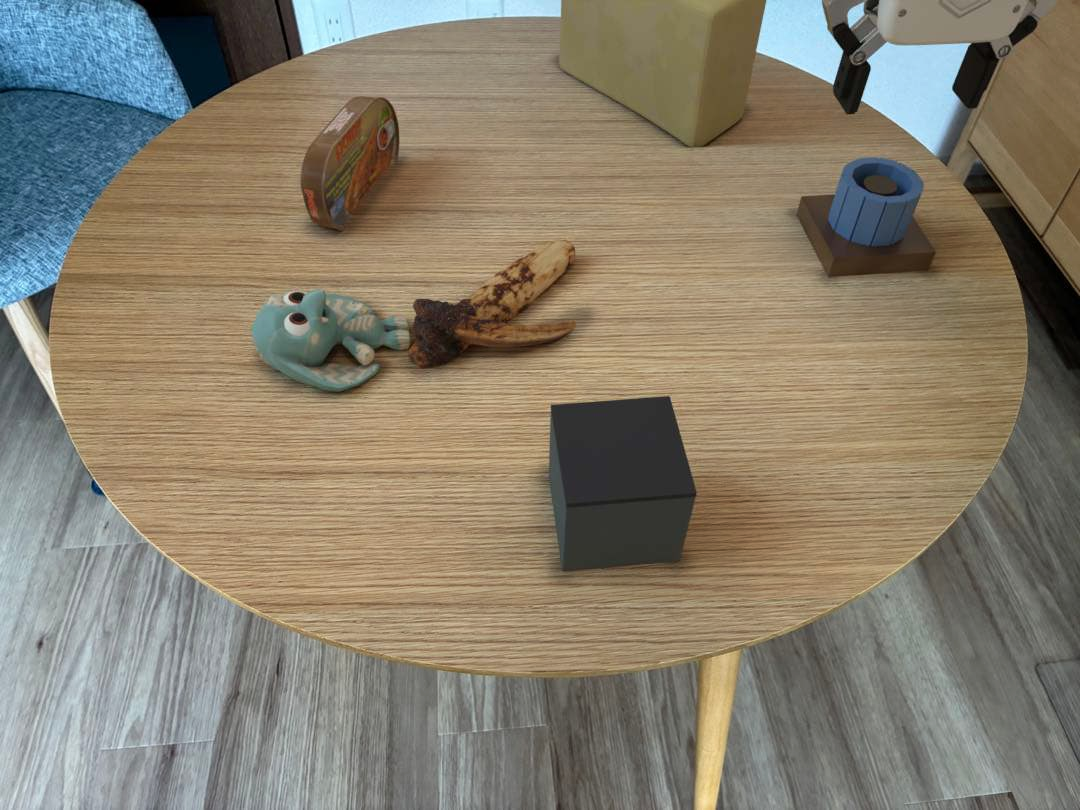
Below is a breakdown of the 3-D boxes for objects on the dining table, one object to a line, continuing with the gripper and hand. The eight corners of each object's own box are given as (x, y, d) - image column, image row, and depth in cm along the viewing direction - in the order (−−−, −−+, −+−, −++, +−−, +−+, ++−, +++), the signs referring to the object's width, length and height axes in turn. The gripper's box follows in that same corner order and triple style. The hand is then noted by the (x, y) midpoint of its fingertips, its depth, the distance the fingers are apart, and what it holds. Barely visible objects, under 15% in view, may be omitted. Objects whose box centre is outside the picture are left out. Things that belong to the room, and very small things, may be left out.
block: (655, 475, 61) (669, 395, 54) (678, 569, 56) (697, 493, 49) (548, 484, 60) (550, 404, 54) (561, 579, 55) (566, 504, 49)
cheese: (533, 81, 98) (534, -60, 86) (588, 51, 102) (596, -86, 91) (694, 155, 88) (718, 7, 77) (746, 118, 93) (776, -26, 81)
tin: (338, 249, 77) (321, 168, 71) (306, 242, 78) (286, 161, 71) (406, 160, 87) (396, 82, 80) (377, 155, 87) (365, 76, 81)
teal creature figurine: (424, 340, 62) (248, 341, 58) (415, 408, 67) (252, 412, 63) (407, 248, 69) (249, 244, 65) (400, 316, 74) (253, 315, 70)
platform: (886, 217, 81) (910, 152, 76) (924, 279, 75) (954, 212, 70) (793, 223, 80) (812, 157, 75) (825, 285, 75) (847, 219, 69)
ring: (888, 198, 78) (905, 155, 75) (917, 244, 74) (936, 199, 70) (818, 203, 78) (831, 159, 74) (843, 248, 73) (858, 204, 70)
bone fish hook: (471, 418, 65) (624, 299, 73) (468, 377, 61) (630, 257, 69) (390, 354, 69) (544, 248, 77) (383, 312, 65) (545, 205, 73)
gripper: (885, -123, 51) (812, 134, 64) (1156, -129, 53) (1031, 123, 66) (842, -163, 56) (783, 83, 69) (1092, -168, 58) (987, 73, 70)
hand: (904, 102), depth 67 cm, fingers open, 9 cm apart
